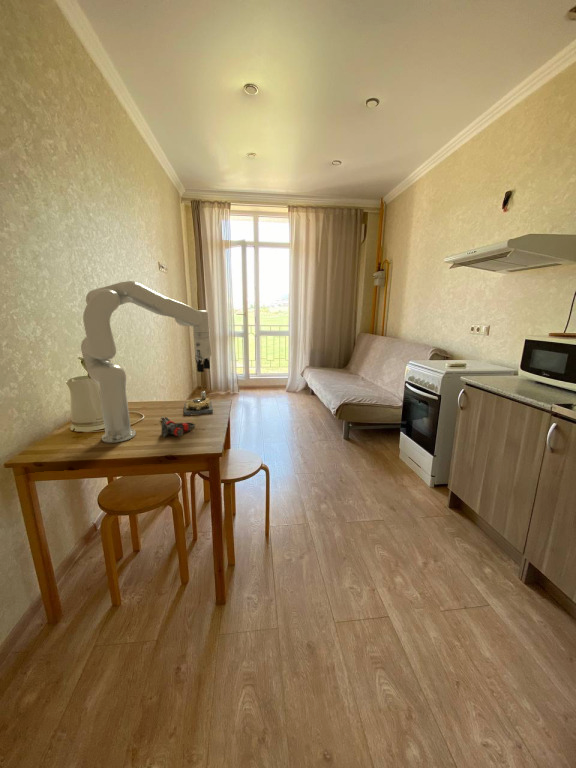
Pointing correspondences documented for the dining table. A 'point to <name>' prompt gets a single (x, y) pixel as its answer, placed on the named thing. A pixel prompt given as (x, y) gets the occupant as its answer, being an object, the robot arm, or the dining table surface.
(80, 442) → the dining table surface
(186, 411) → the base plate
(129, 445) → the dining table surface
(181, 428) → the grey red jointed piece
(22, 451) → the dining table surface
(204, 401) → the beige lumpy block
